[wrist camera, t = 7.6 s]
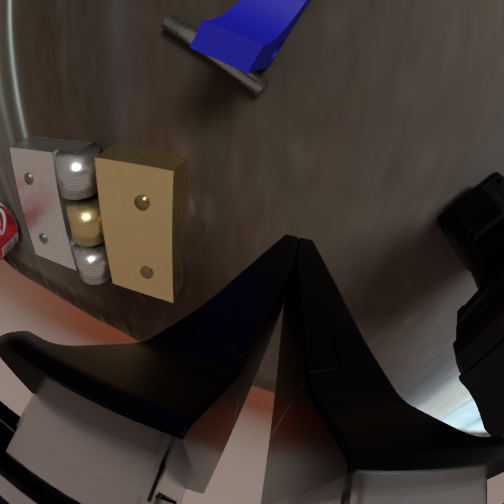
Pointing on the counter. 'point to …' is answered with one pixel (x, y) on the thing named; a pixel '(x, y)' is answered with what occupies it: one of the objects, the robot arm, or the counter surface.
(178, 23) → the hinge pin
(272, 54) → the cable clip
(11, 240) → the soda can
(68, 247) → the steel leaf
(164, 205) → the brass leaf
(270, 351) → the counter surface
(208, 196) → the counter surface
